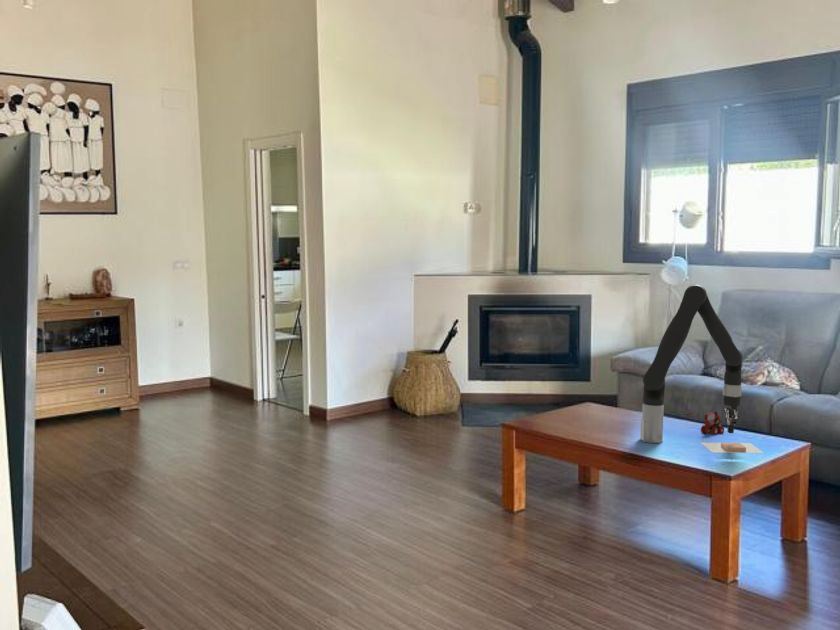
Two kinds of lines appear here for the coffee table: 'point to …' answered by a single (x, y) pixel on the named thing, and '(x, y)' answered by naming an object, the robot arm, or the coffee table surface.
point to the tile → (733, 446)
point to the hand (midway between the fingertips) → (730, 432)
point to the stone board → (718, 449)
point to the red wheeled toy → (712, 424)
